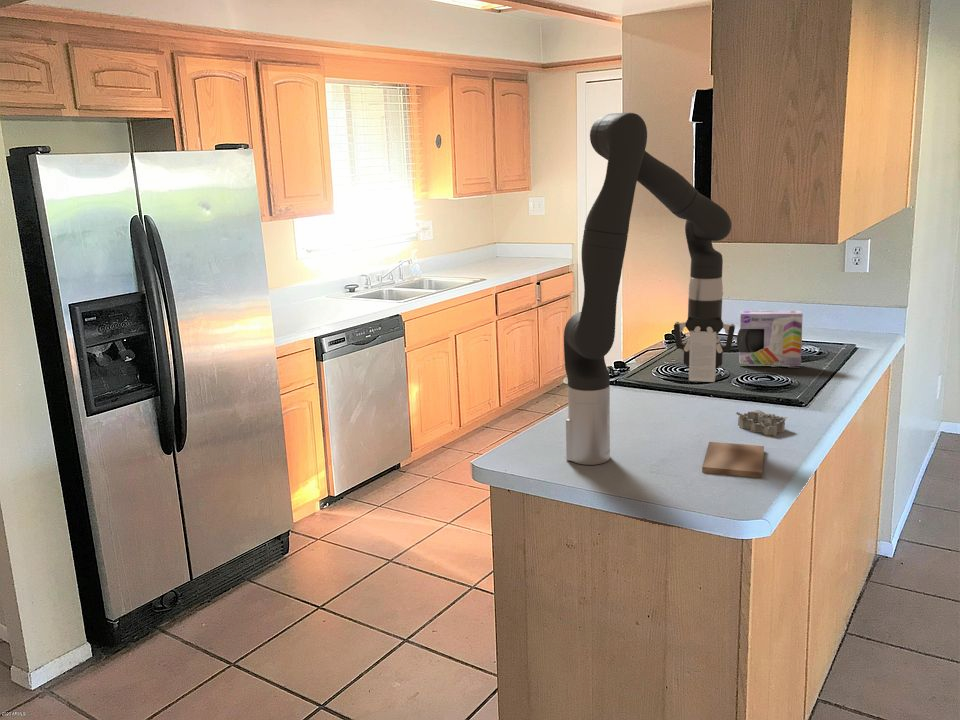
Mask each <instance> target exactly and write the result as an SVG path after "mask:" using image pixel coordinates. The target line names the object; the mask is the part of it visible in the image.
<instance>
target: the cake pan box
mask: <svg viewBox="0 0 960 720" xmlns="http://www.w3.org/2000/svg"><path fill="white" fill-rule="evenodd" d="M739 312H740V313H739V329H738V332H737V336H736V346H737V349H738V352H739V356H738V357H739V358H738V359H739V361H738V363H740V364H764V365H790V366H798V365H799V366H800V365H801V366H802V345H803V312H802V310H779V309H778V310H777V309H776V310H775V309H762V310H757V309H756V310H753V309H752V310H748V309H747V310H745V309H744V310H742V309H741V310H740V311H739Z"/></svg>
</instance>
